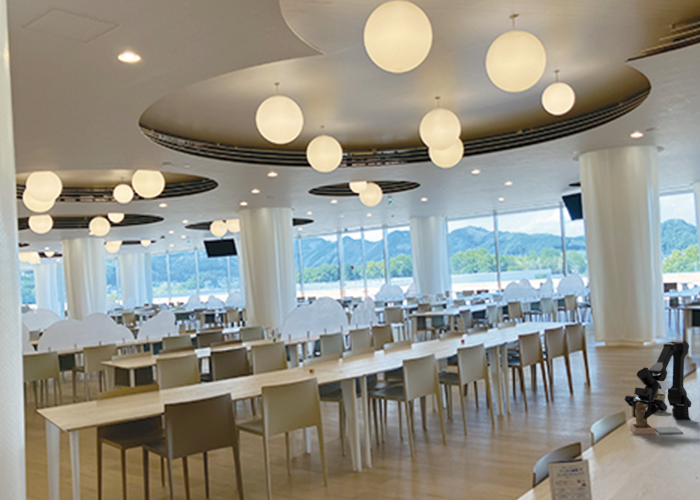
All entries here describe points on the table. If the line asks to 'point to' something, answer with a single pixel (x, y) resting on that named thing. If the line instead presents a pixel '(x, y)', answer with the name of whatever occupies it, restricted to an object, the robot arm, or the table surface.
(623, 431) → the table surface
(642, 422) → the pepper mill
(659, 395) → the flower pot
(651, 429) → the pink square tray
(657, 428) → the plate
